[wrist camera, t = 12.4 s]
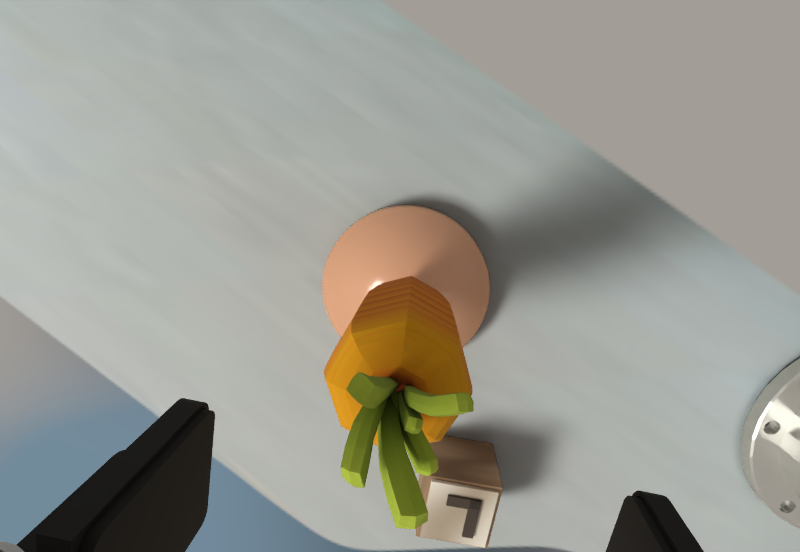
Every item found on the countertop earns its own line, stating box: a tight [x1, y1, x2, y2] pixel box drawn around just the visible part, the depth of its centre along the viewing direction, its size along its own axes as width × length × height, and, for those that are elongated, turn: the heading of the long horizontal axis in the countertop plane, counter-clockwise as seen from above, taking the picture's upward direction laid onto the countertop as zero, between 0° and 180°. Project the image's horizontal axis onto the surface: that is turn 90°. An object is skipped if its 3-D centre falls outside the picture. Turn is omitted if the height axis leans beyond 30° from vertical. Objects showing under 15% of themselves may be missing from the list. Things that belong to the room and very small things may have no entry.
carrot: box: [324, 276, 473, 529], centre depth 18 cm, size 5×5×15 cm
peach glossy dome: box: [322, 205, 490, 348], centre depth 26 cm, size 9×9×1 cm
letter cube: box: [416, 436, 503, 548], centre depth 27 cm, size 4×4×4 cm
